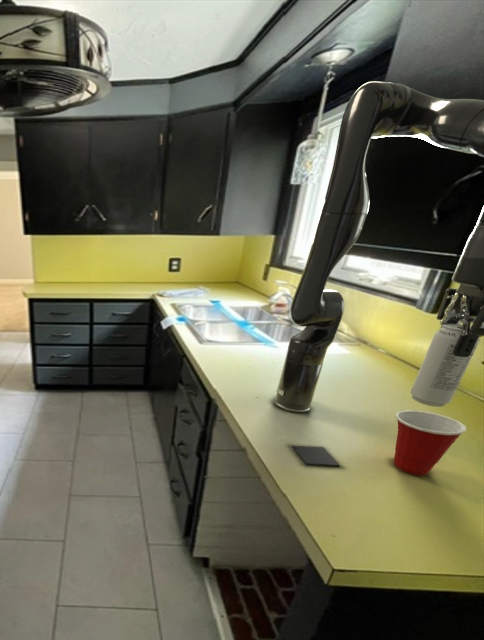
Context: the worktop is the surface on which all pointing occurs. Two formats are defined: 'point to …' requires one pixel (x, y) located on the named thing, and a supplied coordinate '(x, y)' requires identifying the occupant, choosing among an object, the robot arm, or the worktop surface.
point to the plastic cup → (423, 440)
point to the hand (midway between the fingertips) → (450, 350)
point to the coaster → (315, 456)
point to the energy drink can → (441, 368)
